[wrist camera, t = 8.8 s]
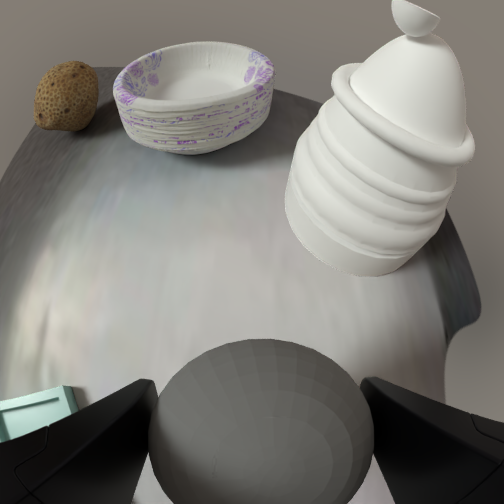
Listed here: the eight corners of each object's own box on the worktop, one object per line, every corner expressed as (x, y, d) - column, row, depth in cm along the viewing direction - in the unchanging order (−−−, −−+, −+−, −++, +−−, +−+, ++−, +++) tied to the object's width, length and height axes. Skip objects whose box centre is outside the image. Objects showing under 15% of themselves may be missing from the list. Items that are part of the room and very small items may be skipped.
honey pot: (301, 286, 20) (424, 19, 4) (272, 158, 26) (297, -31, 10) (434, 267, 21) (568, 123, 5) (386, 160, 27) (449, 19, 11)
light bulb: (229, 486, 10) (215, 605, 2) (172, 394, 13) (61, 387, 4) (328, 433, 12) (456, 471, 3) (272, 343, 14) (327, 258, 6)
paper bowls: (294, 152, 26) (308, 84, 19) (140, 198, 23) (113, 128, 16) (238, 84, 33) (239, 33, 25) (125, 113, 29) (111, 61, 22)
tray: (127, 512, 11) (122, 517, 10) (37, 511, 9) (30, 514, 8) (71, 386, 15) (62, 385, 14) (-6, 405, 13) (-14, 404, 12)
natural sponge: (47, 163, 25) (13, 100, 16) (51, 127, 29) (27, 73, 20) (113, 131, 27) (90, 60, 19) (106, 101, 31) (90, 42, 22)
